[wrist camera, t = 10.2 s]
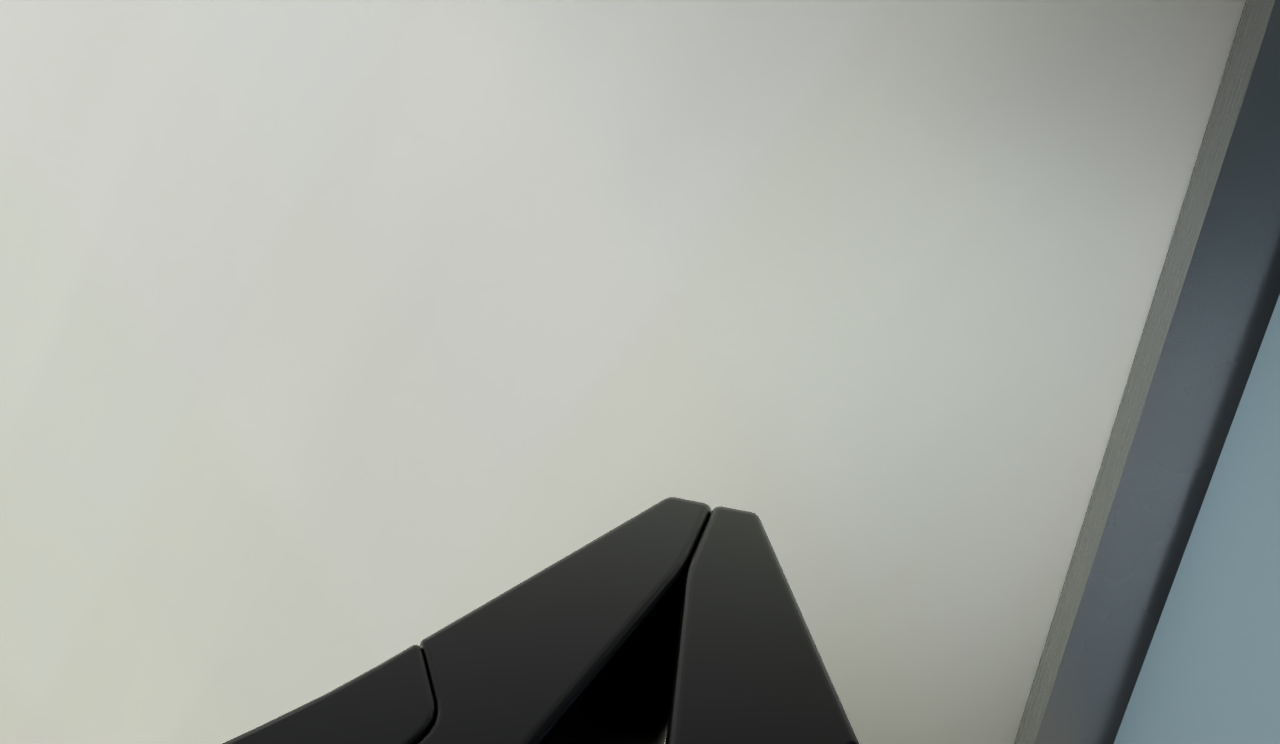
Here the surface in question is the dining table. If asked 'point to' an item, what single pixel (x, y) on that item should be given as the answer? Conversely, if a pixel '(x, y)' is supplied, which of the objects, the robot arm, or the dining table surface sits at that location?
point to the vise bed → (1172, 404)
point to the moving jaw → (1224, 593)
